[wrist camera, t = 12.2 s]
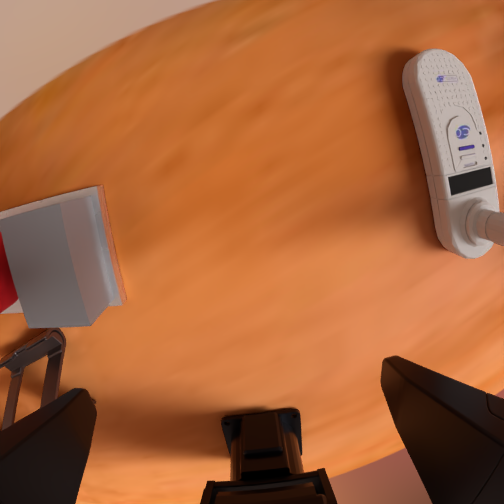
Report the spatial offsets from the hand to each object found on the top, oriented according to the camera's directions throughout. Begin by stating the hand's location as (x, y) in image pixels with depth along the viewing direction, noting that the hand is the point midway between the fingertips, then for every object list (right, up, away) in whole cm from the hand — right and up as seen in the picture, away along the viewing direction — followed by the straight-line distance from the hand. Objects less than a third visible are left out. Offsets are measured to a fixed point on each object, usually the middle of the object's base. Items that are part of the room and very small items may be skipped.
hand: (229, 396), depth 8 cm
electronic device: (+15, +11, +11) cm, 22 cm away
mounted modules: (-19, +3, +12) cm, 23 cm away
